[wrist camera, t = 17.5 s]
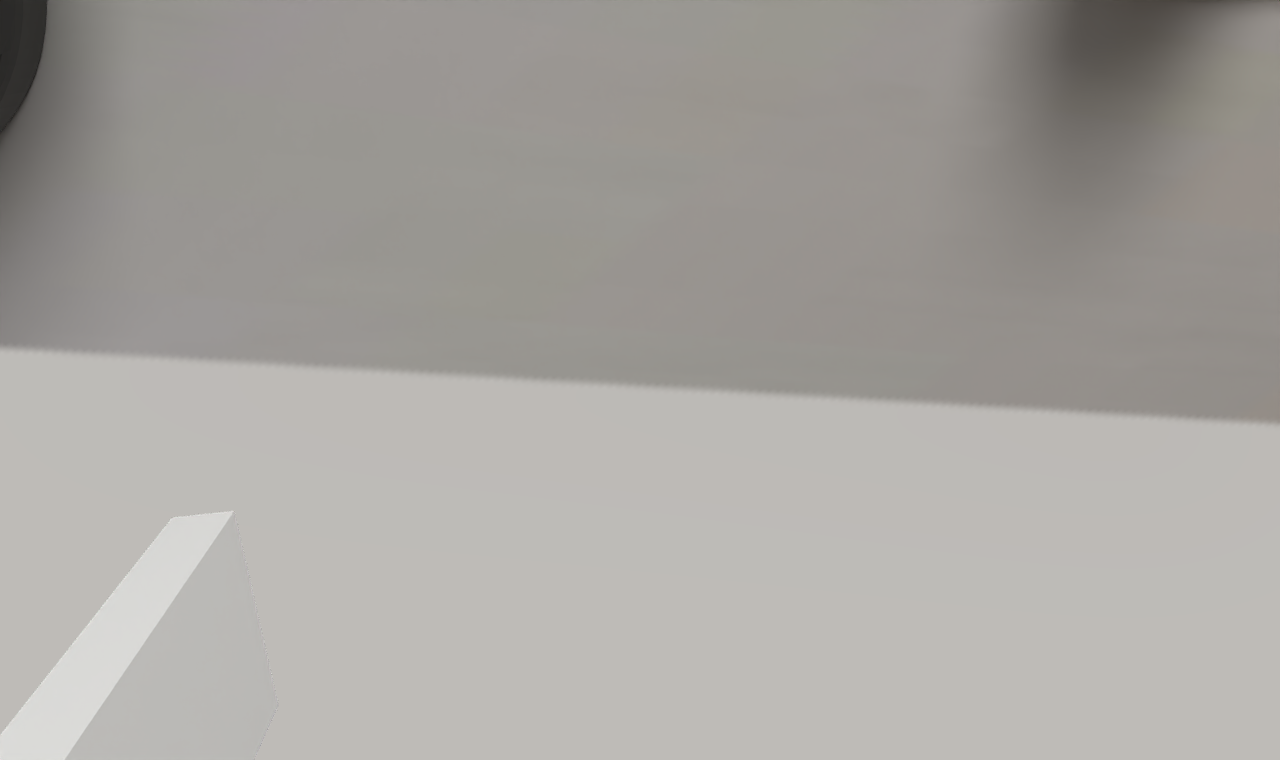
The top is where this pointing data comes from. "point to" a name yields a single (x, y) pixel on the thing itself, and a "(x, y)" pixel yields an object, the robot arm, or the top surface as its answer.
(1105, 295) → the top surface
